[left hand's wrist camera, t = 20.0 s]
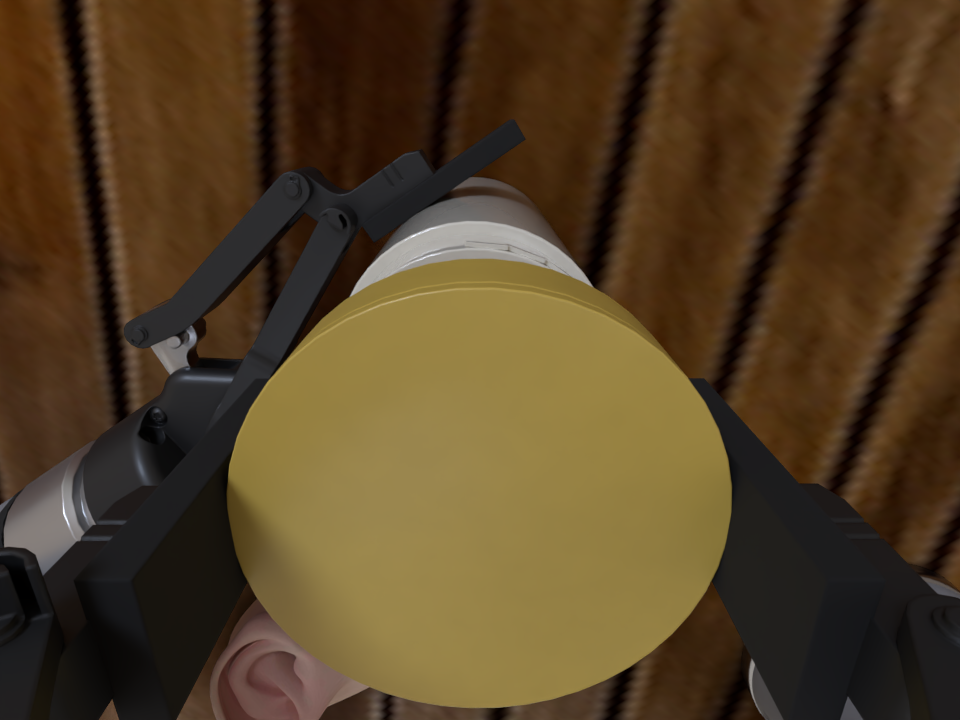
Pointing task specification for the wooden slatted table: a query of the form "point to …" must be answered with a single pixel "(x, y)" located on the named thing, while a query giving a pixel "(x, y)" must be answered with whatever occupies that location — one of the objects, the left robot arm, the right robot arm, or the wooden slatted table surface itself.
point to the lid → (479, 487)
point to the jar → (474, 233)
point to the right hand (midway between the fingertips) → (576, 232)
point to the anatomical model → (272, 675)
